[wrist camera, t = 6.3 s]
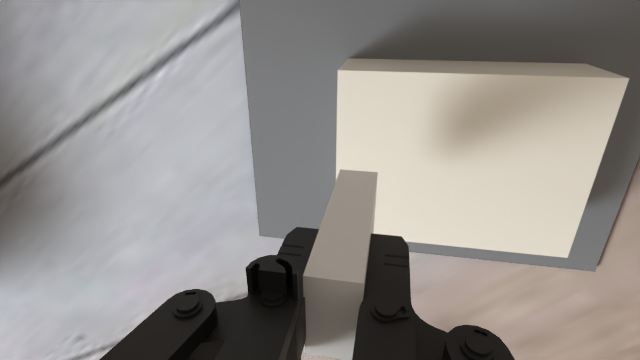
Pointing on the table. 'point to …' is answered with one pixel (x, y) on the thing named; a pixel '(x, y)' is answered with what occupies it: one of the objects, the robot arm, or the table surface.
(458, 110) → the tall block
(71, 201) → the table surface
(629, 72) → the mat
